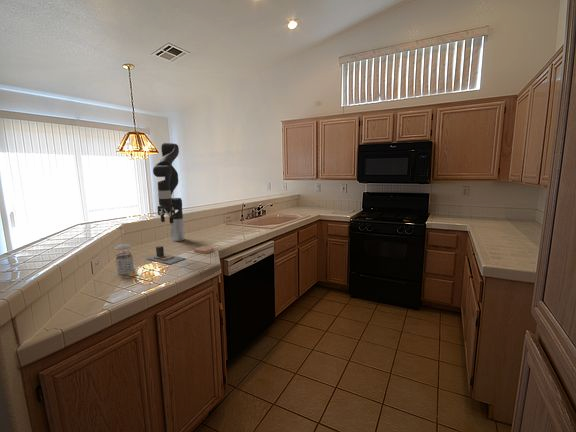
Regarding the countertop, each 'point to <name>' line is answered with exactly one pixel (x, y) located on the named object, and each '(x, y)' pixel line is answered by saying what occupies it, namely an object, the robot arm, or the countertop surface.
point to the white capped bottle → (124, 259)
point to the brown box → (162, 254)
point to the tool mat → (169, 261)
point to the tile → (203, 250)
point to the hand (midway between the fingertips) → (167, 222)
